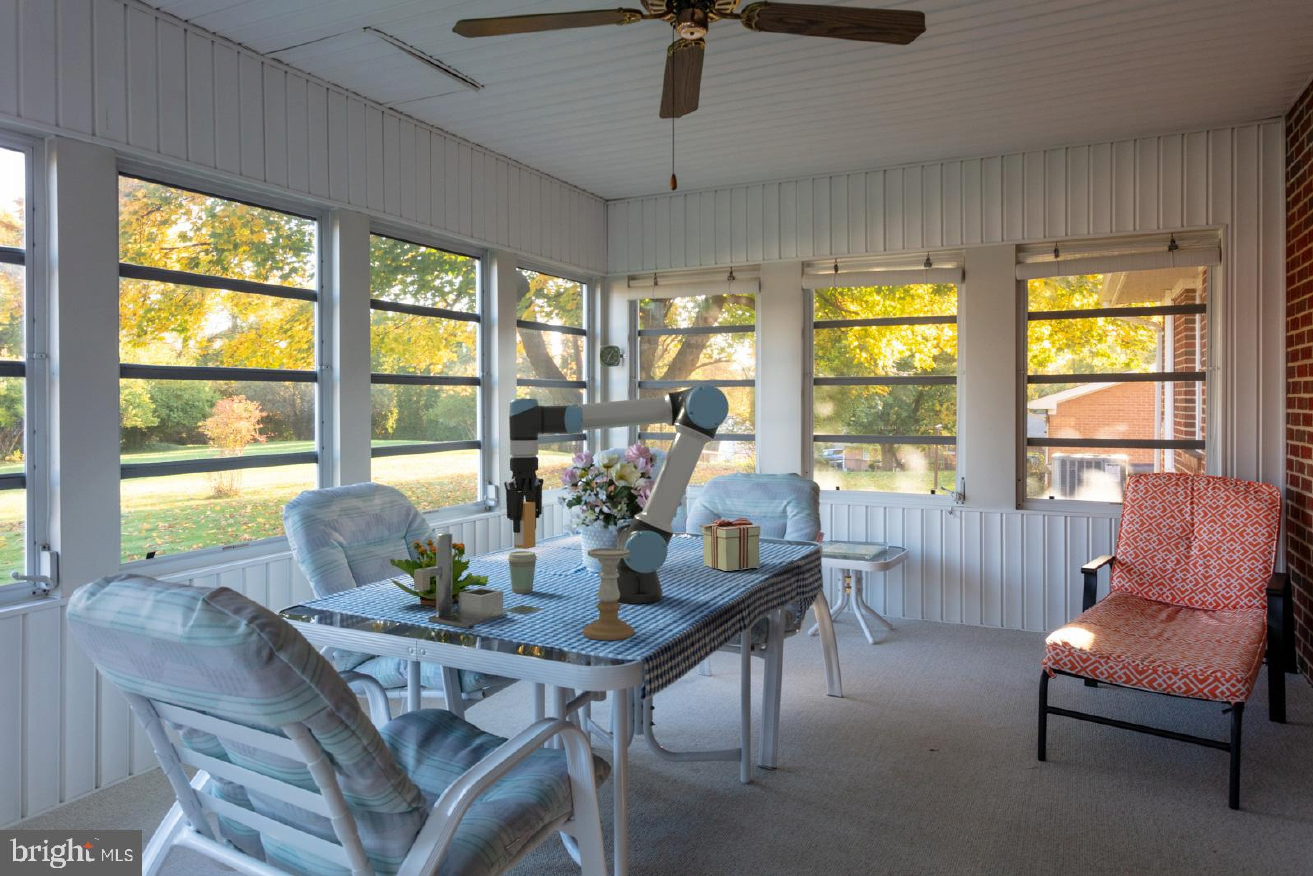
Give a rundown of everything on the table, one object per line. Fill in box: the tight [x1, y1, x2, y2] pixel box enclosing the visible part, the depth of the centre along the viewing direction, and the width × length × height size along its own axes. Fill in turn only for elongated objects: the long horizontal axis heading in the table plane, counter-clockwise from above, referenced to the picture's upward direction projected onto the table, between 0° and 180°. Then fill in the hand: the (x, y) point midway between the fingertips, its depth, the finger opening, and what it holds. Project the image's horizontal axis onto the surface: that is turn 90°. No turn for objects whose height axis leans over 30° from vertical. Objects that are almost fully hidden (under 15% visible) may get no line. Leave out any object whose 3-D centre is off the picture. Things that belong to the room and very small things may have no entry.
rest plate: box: [503, 604, 544, 616], centre depth 223 cm, size 8×8×1 cm
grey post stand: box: [413, 532, 508, 630], centre depth 212 cm, size 14×19×22 cm
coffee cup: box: [507, 550, 538, 595], centre depth 246 cm, size 9×8×12 cm
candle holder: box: [582, 547, 635, 641], centre depth 201 cm, size 12×12×20 cm
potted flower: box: [389, 538, 489, 607], centre depth 233 cm, size 25×24×18 cm
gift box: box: [699, 517, 761, 572], centre depth 292 cm, size 17×18×17 cm
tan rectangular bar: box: [513, 501, 537, 550], centre depth 222 cm, size 4×4×12 cm
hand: (524, 543), depth 222 cm, fingers closed on tan rectangular bar, 4 cm apart
